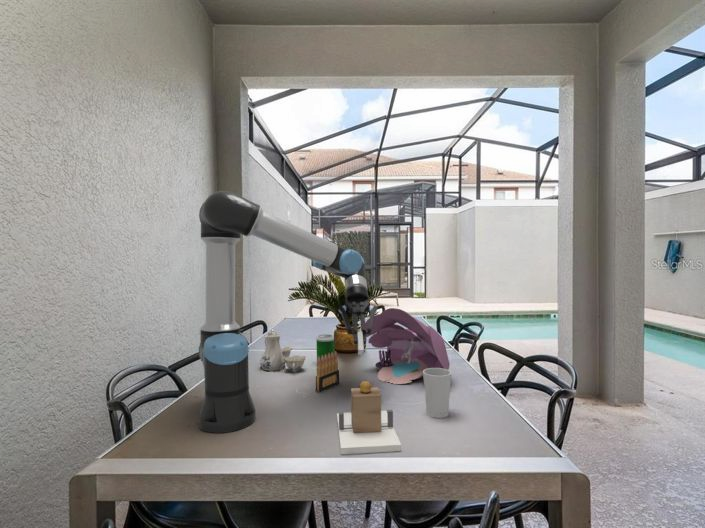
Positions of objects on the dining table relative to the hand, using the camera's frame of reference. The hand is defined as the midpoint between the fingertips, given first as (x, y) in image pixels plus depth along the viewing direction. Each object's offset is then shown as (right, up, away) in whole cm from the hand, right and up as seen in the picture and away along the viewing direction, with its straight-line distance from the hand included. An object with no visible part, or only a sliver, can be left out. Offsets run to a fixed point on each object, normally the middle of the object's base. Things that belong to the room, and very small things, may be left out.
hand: (360, 352), depth 117 cm
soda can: (-14, -16, +48) cm, 52 cm away
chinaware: (-32, -17, +45) cm, 58 cm away
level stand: (+1, -17, -17) cm, 24 cm away
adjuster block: (+1, -15, -17) cm, 23 cm away
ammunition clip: (-11, -17, +18) cm, 27 cm away
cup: (+22, -17, -5) cm, 28 cm away
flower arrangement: (+17, -16, +29) cm, 38 cm away
